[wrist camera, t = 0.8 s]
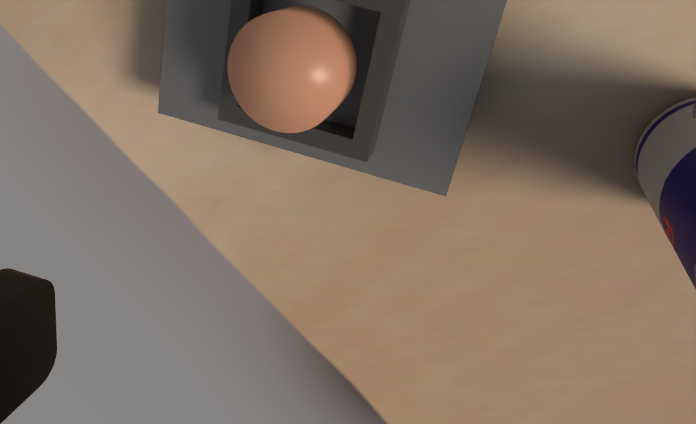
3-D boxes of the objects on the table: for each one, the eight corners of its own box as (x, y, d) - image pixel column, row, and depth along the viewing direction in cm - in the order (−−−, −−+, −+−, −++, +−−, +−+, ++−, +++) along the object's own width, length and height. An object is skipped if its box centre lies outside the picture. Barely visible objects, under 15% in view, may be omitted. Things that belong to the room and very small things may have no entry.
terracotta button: (259, -7, 24) (235, -2, 22) (367, 21, 23) (353, 29, 21) (245, 101, 26) (220, 115, 23) (344, 129, 25) (329, 146, 23)
